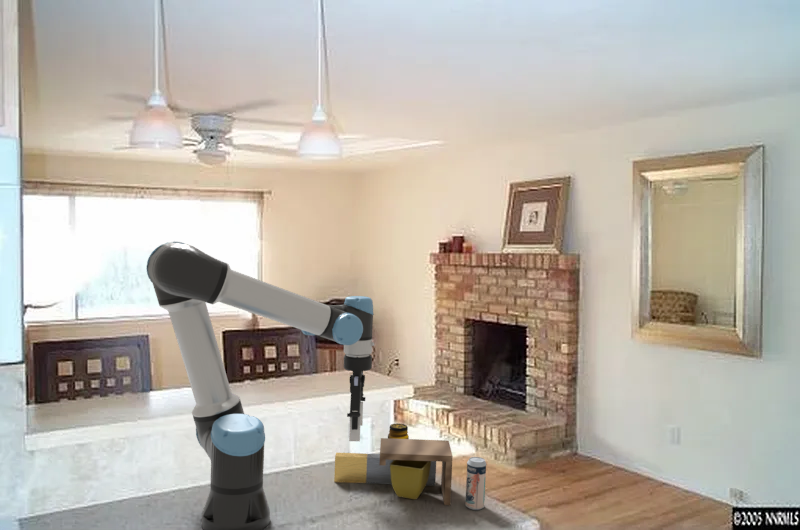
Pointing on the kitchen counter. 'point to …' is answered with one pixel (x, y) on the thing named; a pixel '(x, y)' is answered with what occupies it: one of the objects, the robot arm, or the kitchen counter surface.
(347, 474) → the two-tone wooden bar
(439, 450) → the small brown wooden table
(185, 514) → the kitchen counter surface
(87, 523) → the kitchen counter surface
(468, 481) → the beer can
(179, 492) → the kitchen counter surface
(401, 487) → the flower pot
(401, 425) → the condiment
